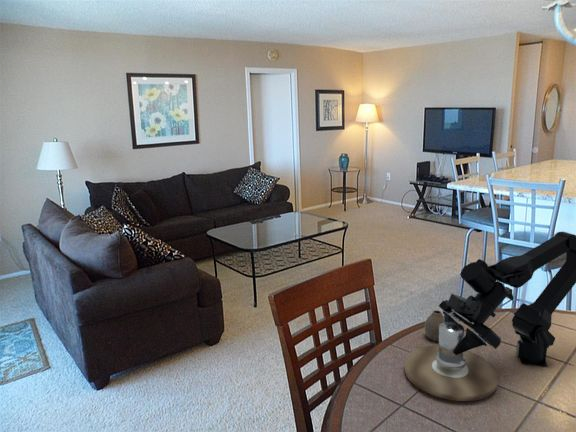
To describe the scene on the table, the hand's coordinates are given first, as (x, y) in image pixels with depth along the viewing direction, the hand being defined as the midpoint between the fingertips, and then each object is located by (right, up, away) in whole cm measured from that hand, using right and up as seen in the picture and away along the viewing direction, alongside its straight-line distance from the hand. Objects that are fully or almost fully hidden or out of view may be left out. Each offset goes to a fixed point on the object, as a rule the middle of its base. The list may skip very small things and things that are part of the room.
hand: (446, 347), depth 115 cm
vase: (+5, -4, +22) cm, 23 cm away
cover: (+2, -4, +1) cm, 5 cm away
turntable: (+2, -8, +2) cm, 9 cm away
